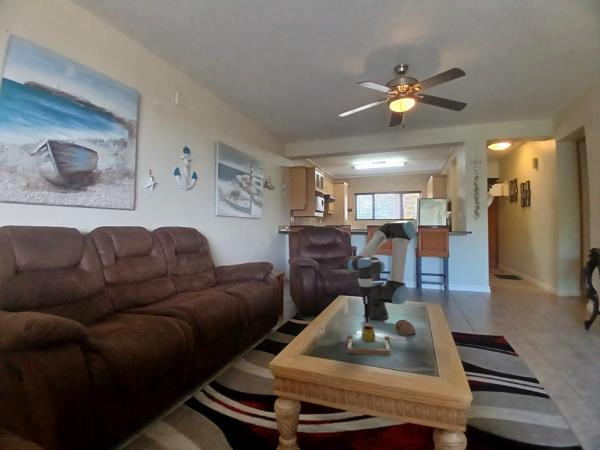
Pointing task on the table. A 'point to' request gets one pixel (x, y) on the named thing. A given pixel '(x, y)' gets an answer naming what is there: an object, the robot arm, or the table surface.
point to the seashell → (404, 327)
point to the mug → (368, 334)
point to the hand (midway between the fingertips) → (367, 328)
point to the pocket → (369, 350)
